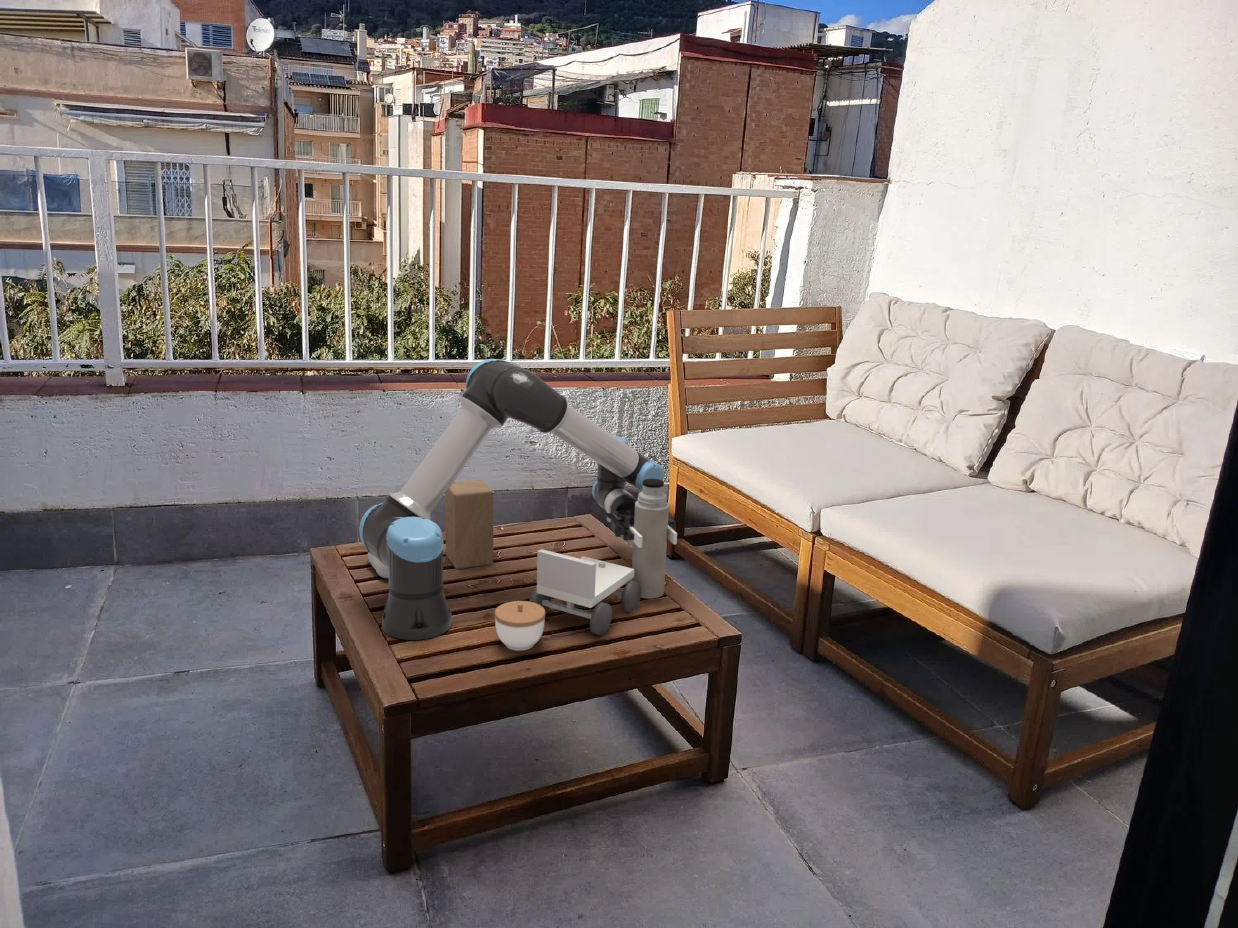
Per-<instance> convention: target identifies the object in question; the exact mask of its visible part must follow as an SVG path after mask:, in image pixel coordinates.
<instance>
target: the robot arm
mask: <svg viewBox="0 0 1238 928" xmlns="http://www.w3.org/2000/svg"><path fill="white" fill-rule="evenodd" d="M465 383H466V385H465V391H464V393H463V394H462V395H461V397H460V402H461V408H460V410H459V411H458V412H457V413H456V415H455V416H454V417H453V419H452V420H451V422H450V423H449V425H447V427H446V429H445V430H444V431H443V432H442V434H441V435H440V436H439V438H438V439H437V441H436V442H435V444H434V445H433V446H432V447H431V449H430V450H429V452H428V453H427V454H426V456H425V457H424V459H423V460H422V461H421V462H420V464H419V465H418V466H417V468H416V470H414V472H413V473H412V474H411V476H410V478H409V479H408V480H407V481H406V483H405V484H404V485H403V487H402V488H401V489H400V491H398V492H393V493H389V495H388V496H387V498H386V499H385V500H384V502H382V503H379V504H375V505H373V506H370V508H369V509H367V510H366V512H365V513H364V515H363V516H362V518H361V519H360V522H359V528H358V529H359V530H358V531H359V537H360V541H361V542H362V544H363V546H364V547H365V550H367V553H368V552H369V553H370V554H371V555H373V556H375V557H376V558H377V559H378V560H379V561H380V562H381V563H383V564H384V565H385V566H386V567H387V568H388V574H389V578H388V596H387V599H386V603H385V606H384V609H383V613H382V616H381V629H382V630H383V632H384V633H385V634H386V635H388V636H389V637H393V638H395V639H400V640H404V641H405V640H406V641H421V640H427V639H432V638H435V637H439V636H441V635H442V634H445V633H446V632H447V631H449V630H450V628H451V627H452V619H453V618H452V610H451V609H450V607H449V605H448V602H447V598H446V595H445V593H444V551H443V550H444V540H443V532H442V528H440V526H439V525H438V524H437V523H436V522H435V521H433V520H432V513H433V511H434V509H435V508H436V507H437V505H438V504H439V503H440V502H441V500H442V499H443V497H445V493H446V492H447V490H448V489H449V488H450V486H451V485H452V483H453V482H455V480H456V479H457V478H458V476H460V474H461V472H462V471H463V470H464V468H465V467H466V465H467V464H468V463H469V462H470V460H471V459H472V458H473V456H474V455H475V453H476V452H477V450H478V449H479V448H480V447H481V445H482V444H483V443H484V440H485V439H486V438H487V436H488V435H489V434H490V433H491V431H492V430H494V429H500V428H502V427H503V426H504V425H505V423H506V422H507V421H508V419H512V420H514V421H517V422H520V423H522V424H525V425H528V426H529V427H532V428H534V429H536V430H538V431H539V432H540V433H542V434H549V433H551V434H552V435H553V436H555V437H557V438H558V439H560V440H561V441H562V442H565V443H566V444H568V445H569V446H571V447H572V448H574V449H576V450H577V451H579V452H580V453H582V454H583V455H585V456H586V457H587V458H590V459H591V460H593V461H594V462H596V463H597V479H596V480H595V481H594V484H593V486H592V488H591V493H592V497H593V499H594V500H595V502H596V504H597V505H598V506H599V507H601V508H602V509H603V510H604V511H605V512H606V513H607V514H606V524H607V525H608V526H610V528H611V530H612V532H613V534H614V536H615V537H616V538H620V537H621V536H622V537H623V539H622V540H624V541H631V542H632V543H633V542H634V543H635V544H636V545H637V546H638V547H639V548H642V539H643V537H642V536H641V535H640V534H639V533H638V532H637V531H636V530H635V529H634V520H635V502H636V501H638V498H636V497H635V496H634V495H633V494H631V493H630V492H629V491H628V490H626V489H627V484H629V485H631V486H633V487H634V488H637V489H638V490H640V491H642V489H643V480H645V479H659V480H662V481H663V482H664V478H665V471H664V469H663V467H662V465H660V464H658V463H657V462H656V461H655V460H651V459H649V458H647V457H646V456H644V455H643V454H642V453H639V452H638V451H636V449H634V448H632V447H631V446H630V445H629V444H628V443H629V442H628V440H627V439H626V438H625V437H623V436H619V435H613V434H612V433H611V432H609V431H607V430H606V429H605V428H603V427H601V426H600V425H599V424H598V423H595V422H594V421H593V420H591V419H589V418H588V417H587V416H585V415H584V414H582V413H581V412H579V411H578V410H576V409H575V408H573V407H572V406H571V405H569V402H568V399H567V398H566V397H565V396H564V395H562V394H561V393H559V392H558V391H557V390H555V389H554V388H553V387H552V386H550V385H549V384H548V383H547V382H545V381H544V380H543V379H542V378H540V377H539V376H538V375H536V373H534V372H532V371H530V370H529V369H526V368H523V367H520V366H518V365H516V364H514V363H511V362H509V361H507V360H504V359H495V358H489V359H484V360H482V361H479V362H477V363H476V364H475V365H474V366H473V367H472V368H471V369H470V371H469V372H468V374H467V377H466V380H465ZM676 522H677V521H675V520H674V519H672V518H670V516H668V532H667V541H669V542H670V543H671V544H672V545H677V541H678V533H677V532H676Z"/></svg>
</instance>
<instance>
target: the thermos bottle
mask: <svg viewBox="0 0 1238 928" xmlns="http://www.w3.org/2000/svg"><path fill="white" fill-rule="evenodd" d="M664 485H665V481H664V480H663V481H662V480H659V479H645V480H643V489H642V490H641V491H640V492H638V496H637V500H638V501H636V502H635V520H634V525H633V528H634V529H635V530H636V531H637V532H638V533H639V534H640V535H641V536H642V537H643V539H642V548H639V547H638V546H637V545H636V544H635V543H634V542H633V541H632V560H631V562H632V564H631V568H632V569H634V578H632V579H631V580H630V581H634V582H638V583H640V585H641V597H640V599H641V598H642V599H656V598H657V599H658V598H660V597H662V596H663V595H664V593H665V584H666V583H665V580H666V564H667V563H666V562H667V550H668V549H667V547H668V545H667V544H668V539H667V532H668V517H669V513H670V512H669V509H670V504H669V502H667V500H668V496H667V493H665V492H664Z"/></svg>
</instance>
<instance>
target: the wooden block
mask: <svg viewBox="0 0 1238 928" xmlns="http://www.w3.org/2000/svg"><path fill="white" fill-rule="evenodd" d="M444 508H445V509H444V511H445V512H444V518H445V520H444V521H445V522H444V523H445V526H444V528H445V556H446V557H447V559H448V560H449V561H450V563H451V565H453V567H454V569H455V570H460V569H467V568H473V567H474V568H475V567H481V566H487V565H488V566H489V565H493V564H494V491H493V489H491V487H490V486H489V485H488V484H487V483H486V482H485V481H484V480H483V479H474V480H466V481H465V480H463V481H456V482H455V481H454V482H453V483H452V485H451V486H450V488H449V489H448V490H447V492H446V493H445V494H444Z"/></svg>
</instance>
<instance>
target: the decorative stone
mask: <svg viewBox="0 0 1238 928" xmlns="http://www.w3.org/2000/svg"><path fill="white" fill-rule="evenodd" d="M367 558H368V561H369V563H370V565H371V566H372V568H373V569H375V571H376V573H377V574H378V576H380V577H381V578H384V579H389V574H388V568H387V567H386V566H385V565H384V564H383V563H381V562H380V561H379V560H378V559H377V558H376V557H375V556H373V555H371V554H370V553H369V552H368V551H367Z"/></svg>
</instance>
